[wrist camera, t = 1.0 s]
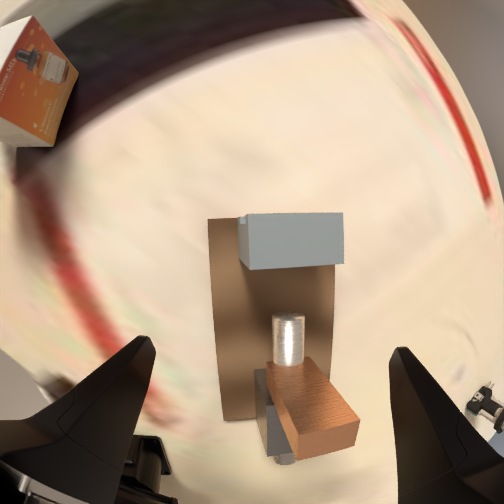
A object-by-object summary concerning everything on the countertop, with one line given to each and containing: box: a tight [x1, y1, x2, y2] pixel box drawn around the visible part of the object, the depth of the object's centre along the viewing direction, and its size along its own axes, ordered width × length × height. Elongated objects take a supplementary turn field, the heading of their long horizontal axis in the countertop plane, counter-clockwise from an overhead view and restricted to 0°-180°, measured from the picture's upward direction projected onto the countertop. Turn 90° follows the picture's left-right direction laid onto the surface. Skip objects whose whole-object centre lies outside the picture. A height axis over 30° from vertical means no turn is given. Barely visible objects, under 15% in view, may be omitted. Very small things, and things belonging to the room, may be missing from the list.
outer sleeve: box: [254, 368, 293, 457], centre depth 20 cm, size 6×4×6 cm
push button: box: [467, 381, 504, 434], centre depth 25 cm, size 7×5×10 cm
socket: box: [237, 213, 344, 270], centre depth 18 cm, size 3×6×6 cm, turn 92°
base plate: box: [208, 218, 335, 421], centre depth 23 cm, size 18×10×1 cm, turn 2°
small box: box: [0, 16, 78, 147], centre depth 13 cm, size 8×6×10 cm
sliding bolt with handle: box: [266, 311, 360, 465], centre depth 16 cm, size 14×3×9 cm, turn 2°
